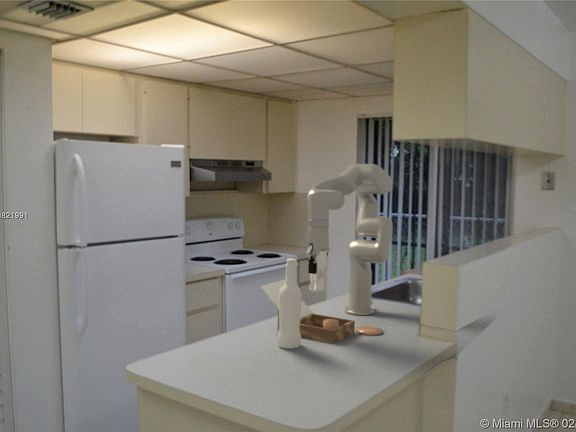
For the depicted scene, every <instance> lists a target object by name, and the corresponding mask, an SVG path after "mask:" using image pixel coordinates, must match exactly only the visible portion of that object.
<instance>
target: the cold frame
mask: <svg viewBox="0 0 576 432" xmlns="http://www.w3.org/2000/svg"><path fill="white" fill-rule="evenodd" d="M325 319H335V320H338V321H339V327H337V328H335V329H333V330H331V329H326V328H323V320H325ZM355 327H356V326H355V320H351V319H346V318H341V317H335V316H330V315H323V314H318V313H313V314H310V315H308V316H305V317H303V318H300V328H299V330H300V334H301V338H304V339H309V340H313V341H314V340H315V341H320V342H323V343H324V342H325V343H328V344H335V343H337V342H339V341H341V340H343V339H346V338H347V337H348V336H350V335H353V334H354V333H355Z"/></svg>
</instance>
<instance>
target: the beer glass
mask: <svg viewBox="0 0 576 432" xmlns="http://www.w3.org/2000/svg"><path fill="white" fill-rule="evenodd" d="M311 254H315V252H311ZM312 257H313V259H314V256H312ZM316 263H317V274H311V273H309V278H310V279H309V281H310V282H309V287H308V290H309V291H312V292H325V291H326V284H325V280H326V279H325V278H326V273H327V268H328V267H327V266H328V256H327V250H325V251H320V253H319V255H318V256H317V260H316ZM308 266H309V263H308Z"/></svg>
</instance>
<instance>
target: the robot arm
mask: <svg viewBox="0 0 576 432" xmlns="http://www.w3.org/2000/svg"><path fill="white" fill-rule="evenodd" d="M392 185H393V183H392V178H391V177H390V175H389V174H388V173H387V172H386V171H385V170H384V169H383V168H382V167H381V166H379V165H377V164H374V163H353V164H352V165H350V166H349V167H348V168H346V169H345V170H344V171H343V172H342V173H340V174H339V176H336V177H332V178H330V179H327V180H324V181H321V182H319V183H317V184H316V185H315V186H314V187H312V188H311V190H310V191H308V194H307V197H306V198H307V199H306V201H307V204H308V222H307V223H308V228H307V232H306V237H305V238H306V239H305V256H306V259H307V262H308V263H309V265H308V274H310V273H311V274H317V263H316V260H317V256H318V255H319V253H320V251H325V250H327V257H328V256H329V252H330V248H329V246H330V242H329V241H330V237H329V236H330V235H329V227H330V221H329V220H330V211H338V210H340V209H342V208H343V206H344V205H345V201H346V198H345V196H349V195H351V194H352V193H354V192H355V195H356V198H357V201H358V208H357V216H356V221H355V222H356V223H355V234H356V235H358V236H360V237H363V238H364V237H365V238H373V239H374V238H375V239H377V240H371V239H359V238H358V239H353V240H352V241H351V242H349V245H348V247H347V248H348V249H347V251H348V259H349V284H348V285H349V287H348V306H347V307H345V308H344V312H345V313H347V314H349V315H355V316H368V315H369V316H370V315H374V314H375V309H374V308H372V305H373V304H374V301H373V300H372V283H373V281H372V280H373V279H372V278H373V271H372V268H371V267H370V265H369V264H371V263H372V264H377V265H378V264H380V265H381V264H386V263H387V261H388V260H389V256H390V250H391V243H392V237H393V236H392V235H393V230H394V229H393V222H392V219H390V218H389V217H388V216H385V215H378V213H379V202H378V201H377V199H376V197H375V196H374V195H387V194H388V193H390V192H391V190H392ZM311 252H315V254H311ZM312 256H314V259H313V257H312Z"/></svg>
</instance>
